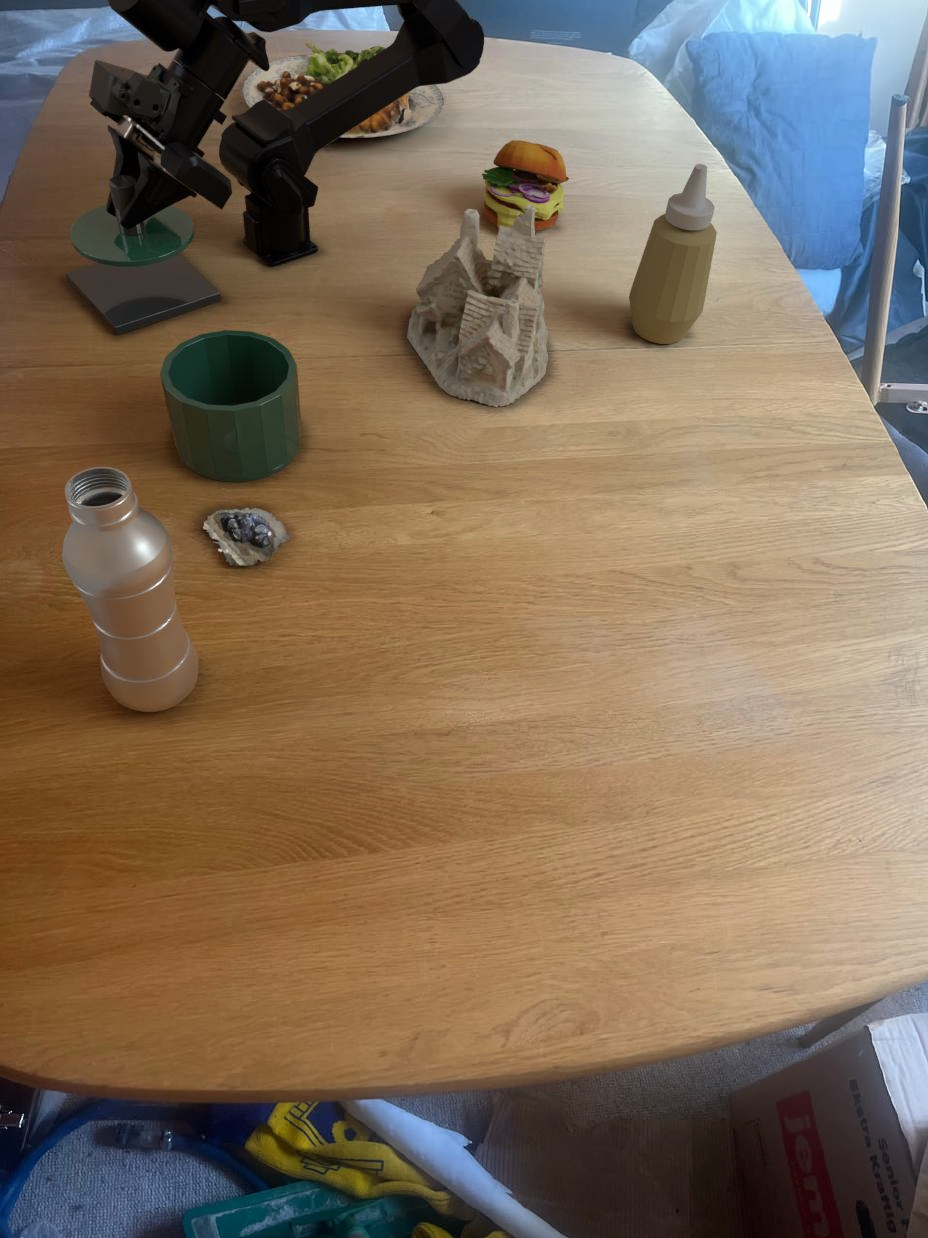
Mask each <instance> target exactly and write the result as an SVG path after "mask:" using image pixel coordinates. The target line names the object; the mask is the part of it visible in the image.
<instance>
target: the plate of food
mask: <svg viewBox="0 0 928 1238" xmlns="http://www.w3.org/2000/svg"><path fill="white" fill-rule="evenodd" d="M304 43H305V45H306V47H307V48H309V49H310V51H311V52H312V54H298V55H293V56H288V57H283V58H278V59H274V60H272V61H269V65H270V69H269V70H268V71H264V70H262V69H261V68H259V67H257V68H256V69H254V70H252V71H251V72H250V73H249V75H247V76H246V78H245V79H244V82H243V84H242V87H241V95H242V97H243V98H244V101H245V103H246V105H247V106H248V107H249V109H250V108H251V107H252V106H253V105H254V104H255V103H257V102H259V101H261V100H263V99H264V100H266V101H267V102H269V103H270V104H271V105H273V106H274V107H276V108H277V109H278V110H287V109H290V108H292V107H294V106H295V105H297V104H298V103H300V102H302V101H303V100H305V99H306V98H308V97H310V96H311V95H313V94H314V93H316V92H317V91H319V90H321V89H322V88H324V87H325V86H327V85H329V84H330V83H332V82H333V81H335V80H337V79H338V78H340V77H341V76H343V75H344V74H346V73H348V72H349V71H351V70H352V69H354V68H356V67H357V66H359V65H360V64H362V63H363V62H365V61H367V60H368V59H370V58H371V57H373V56H375V55H376V54H378V53H379V52H381V51H382V50H384V49H386V47H385V46H382V45H381V46H380V45H375V46H372V47H370V48H366V49H362V50H361V51H360V52H357V51H356V52H355V51H353V50H351V49H346V50H345V52H338V51H337V50H336V49H335V48H331V49H330V50H326V51H324V50H322V49H319V48H318V47H317V45H314V44H313V43H312V42H311V41H305V42H304ZM444 105H445V99H444V96H443V93H442V91H441V90H440V88H439V87H438V86H437V85H427V86H419V87H417V88H415V89H413V90H412V91H410V92H409V93H407V94H405V95H404V96H402V97H401V98H399V99H398V100H396V101H395V102H393V103H391V104H390V105H388V106H387V107H385V108H384V109H382V110H381V111H379V112H378V113H376V114H374V115H373V116H371V117H370V118H368V119H367V120H365V121H364V122H362V123H361V124H359V125H357V126H356V127H354V128H353V129H351V130H350V131H348V132H347V133H345V134H344V135H342V136H340V137H339V138H346V139H347V138H351V139H356V138H376V137H386V136H391V135H398V134H400V133H401V134H402V133H405V132H409V131H412V130H415V129H418V128H420V127H422V126H424V125H426V124H428V123H430V122H432V121H433V120H434V119H435V118H437V116H438V115H439V114H440V113H441V111H442V109H443V106H444Z"/></svg>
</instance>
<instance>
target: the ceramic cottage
mask: <svg viewBox="0 0 928 1238" xmlns="http://www.w3.org/2000/svg"><path fill="white" fill-rule="evenodd" d="M534 216H535V207H534V206H533V205H531V204H528V205H527V207H526V209H525V214H521V213H520V214H519V215H518V216H517V217H516V219H515V221H514V223H513V225H512V226H511V228H508V227H505V226H501V225H500V226H499V229H498V231H497V235H496V238H495V244H494V248H493V257H492V259H487V258H486V256H485V254H484V252H483V250H482V249H481V248H480V247H479V238H480V237H479V235H480V213H479V212H478V210H477V209H473V208H467V209H465V210H464V212H463V215H462V219H461V223H460V231H459V232H460V234H459V238H457V239H456V240H454V241H453V244H452V245H451V246H450V249H448V250H446V251H445V252H443V254H442V255H441V256H440V257H439V258H438V259H435V260H434V262H433V263H430V264H428V265H427V266H426V269H425V271H424V273H423V276H422V279H421V280H420V281H419V283H418V285H417V286H416V288H415V294H416V295H417V296H418V297H419V301H418V302H417V303H416V306H415V307H414V308H412V310H411V315H410V318H409V320H408V326H407V334H406V338H407V340H408V342H409V343H410V345H411V346H412V347H413V349H414V350H415V352H416V353H417V355H418V357H419V358H420V359H421V361H423V364H424V365H425V366H426V367H427V369H428V370H429V372H430V374H431V377H433V379H434V381H435V382H436V384H437V385H438V387H439V388H440V389H441V390H443V391H444V392H445V393H447V394H448V395H449V396H452V397H456V398H458V399H459V400H461V399H463V400H467V401H471V400H472V401H474V402H477V403H478V402H479V404H480V405H481V404H483V405H487V406H488V407H495V408H499V407H505V406H509V405H510V404H513V403H515V402H516V400H518V399H520V398H521V396H523V395H526V393H528V391H529V390H531V388H533V387H534V386H536V385H537V384H538V383H540V382H541V379H543V378H544V377H545V375H546V373H547V367H548V361H549V360H548V359H549V354H548V350H547V344H548V339H549V330H548V329H547V326H546V323H545V315H544V312H545V308H546V306H545V301H544V298H543V294H542V293H541V290H540V289H542V288H543V287H544V278H543V272H544V271H543V266H544V256H545V255H544V254H545V247H546V243H547V238H546V236H540V235H536V231H535V228H534Z"/></svg>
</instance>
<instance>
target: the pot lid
mask: <svg viewBox="0 0 928 1238" xmlns="http://www.w3.org/2000/svg"><path fill="white" fill-rule="evenodd" d="M107 184H108V186H109V187H108V188H109V192H111V196H112V201H113V205H114V209H115V214H116V217H115V216H113V215H111V214H109V213H108V212H107V211H106V207H107V203H105V204H101V205H99V206H96V207H94V208H91V209H89V210H88V211H86V212H84V213H83V214H81V215H80V216H79V217H77V219H75V221H74V222H73V224H72V225H71V227H70V231H69V237H70V241H71V244H72V247H73V248H74V250H75V251H76V253H78V254H79V255H80V256H82V257H84V258H85V259H87V260H89V261H92V262H94V263H96V264H97V263H100V264H105V265H110V266H120V267H134V266H144V265H150V264H155V263H158V262H162V261H165V260H167V259H170V258H172V257H174V256H176V255H178V254H181V253H183V252H184V251H185V250H186V249H187V248H189V246H190V245H191V244H192V242H193V240H194V237H195V226H194V222H193V220H192V218H191V217H190V216H189V215H188V213H186V212H185V211H184V210H183V209H180V208H179V207H177V206H175V205H171V206H169V207H167V208H165V209H163V210H161V211H160V212H158V213H156V214H154V215H153V216H151V217H149V218H148V219H146V220H144V221H143V222H141V223H139V224H138V225H136V226H134V227H133V228H131V229H126V228H124V227H123V226H121V225H120V219H121V217H122V214H123V211H124V209H125V207H126V205H127V202H128V200H129V198H130V196H131V194H132V192H133V190H134V188H135V185H136V180H135V178H133V177H132V176H128V175H118V176H114V177H113V176H112V177H110V178H109V179H108V183H107Z"/></svg>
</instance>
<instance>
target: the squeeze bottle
mask: <svg viewBox="0 0 928 1238" xmlns="http://www.w3.org/2000/svg"><path fill="white" fill-rule="evenodd" d="M707 177H708V166H707V165H706V164H703V163H696V164H695V165H694V167H693V169H692V171H691V173H690V175H689V177H688V179H687V182H686V183H685V186H684V187H683V190H682V191H681V192H678V193H675V194H673V195H671V196H670V197H668V201H667V205H666V208H665V213H663V214H661V215H659V216H658V217H657V218H655V219H654V220H653V223H652V226H651V229H650V232H649V235H648V238H647V241H646V244H645V246H644V250H643V253H642V255H641V259H640V262H639V264H638V267H637V270H636V273H635V276H634V278H633V282H632V284H631V288H630V291H629V295H628V301H629V309H630V317H631V323H632V326H631V327H632V328H633V330H634V333H636V334H637V335H638V336H639V337H640V338H642V339H643V340H646V341H648V342H650V343H655V344H660V345H673V344H675V343H678V342H681V341H682V340H683V339H684V338H685V337H686V336H687V334H688V333H689V332H690V331H691V328H692V327H693V326H694V324H695V323H696V321H697V320H698V319H699V317H700V316H701V315H702V313H703V311H704V305H705V301H706V296H707V290H708V284H709V279H710V272H711V268H712V262H713V256H714V251H715V246H716V240H717V235H718V232H717V230H716V228H715V227H714V225H713V224H712V220H713V216H714V212H715V207H716V206H715V205H714V203H713V201H712V200H710V199H708V198H707Z"/></svg>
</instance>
